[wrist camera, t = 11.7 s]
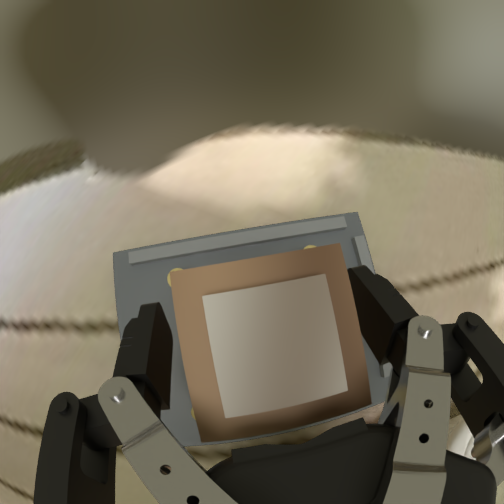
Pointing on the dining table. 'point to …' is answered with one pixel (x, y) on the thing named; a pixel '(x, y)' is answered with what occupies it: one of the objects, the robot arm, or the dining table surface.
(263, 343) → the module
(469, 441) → the white rounded jar
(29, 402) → the dining table surface
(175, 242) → the plate
